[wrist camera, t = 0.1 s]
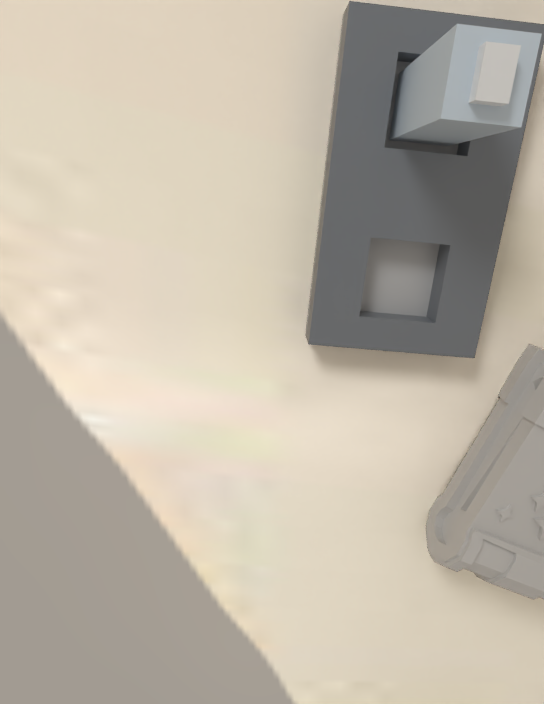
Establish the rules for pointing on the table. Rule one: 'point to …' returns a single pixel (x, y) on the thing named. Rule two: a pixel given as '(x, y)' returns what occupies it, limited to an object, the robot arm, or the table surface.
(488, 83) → the plug
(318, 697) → the table surface
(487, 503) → the grey lumpy block
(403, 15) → the jack panel
